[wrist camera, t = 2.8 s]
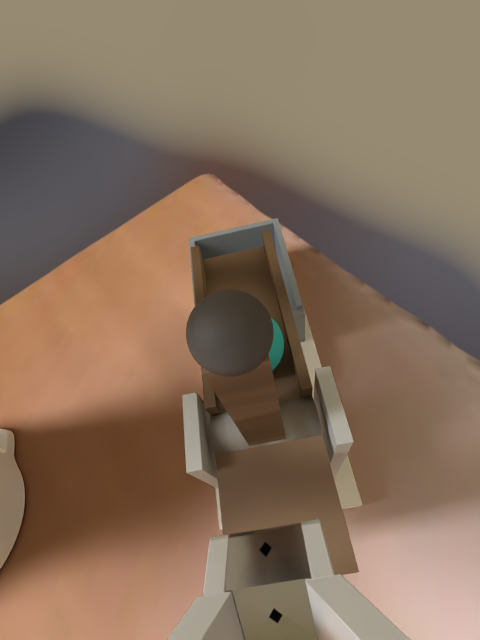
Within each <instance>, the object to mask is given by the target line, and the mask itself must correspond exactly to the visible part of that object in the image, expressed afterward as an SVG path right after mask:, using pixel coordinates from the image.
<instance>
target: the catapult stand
mask: <svg viewBox="0 0 480 640" xmlns="http://www.w3.org/2000/svg"><path fill="white" fill-rule="evenodd" d="M303 308H304V306H303ZM304 312H305V309H304ZM300 343H301V347H302V350H303V354H304V358H305V361H306V365H307V369H308V372H309V376H310V380H311V383H312V387H313V390H312V397H313V399H314V402H315V405H316V408H317V412H318V416H319V420H320V425H321V430H322V436H323V439H324V443H325V447H326V451H327V454H328V458H329V462H330V466H331V469H332V473H333V477H334V481H335V484H336V488H337V492H338V496H339V499H340V503H341V507H342V509H348V508H354V507H359V506H362V501H361V498H360V494H359V491H358V488H357V484H356V481H355V478H354V474H353V471H352V468H351V464H350V461H349V457H348V452H349V450H350V448H351V446H352V444H353V442H354V441H353V438H352V435H351V431H350V428H349V425H348V422H347V419H346V415H345V412H344V409H343V406H342V403H341V399H340V396H339V393H338V390H337V386H336V383H335V380H334V377H333V374H332V370H331V367H330V366H326V367H322V366H321V363H320V360H319V356H318V353H317V350H316V346H315V343H314V340H313V336H312V333H311V329H310V326H309V323H308V319H307V316H306V313H305V341H304V342H300ZM182 401H183V420H184V438H185V457H186V473H188V474H190V475H192V476H194V477H196V478H198V479H200V480H202V481H203V482H205V483H207V484H209V485H211V486H213V487H215V489H216V499H217V510H218V520H219V530H222V520H221V510H220V500H219V489H218V479H217V469H216V459H215V453H214V450H213V446H212V441H211V434H210V416H211V415H210V414H209V413H208V412H207V410H206V409H205V404H204V402H203V400H202V399H201V398H200V396H199V395H198V394H197V393H196V392H195V393H190V394H185V395H182Z"/></svg>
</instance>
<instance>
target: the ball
mask: <svg viewBox="0 0 480 640" xmlns="http://www.w3.org/2000/svg"><path fill="white" fill-rule="evenodd" d="M271 320H272V323H273V329H274V337H273V343H272V346H271V349H270V352H269V358H270V363H271V367H272V371H273V370H274V369H275V368H276V367H277V365H278V364H279V362H280V360H281V358H282V355H283V351H284V339H283V335H282V332H281V329H280V327H279V326H278V324H277V323H276V322H275V321H274V319H273V318H271Z"/></svg>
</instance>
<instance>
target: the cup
mask: <svg viewBox="0 0 480 640" xmlns="http://www.w3.org/2000/svg"><path fill="white" fill-rule="evenodd" d="M265 230H270V232H271V236H272V240H273V244H274V247H275V251H276V255H277V258H278V262H279V266H280V269H281V273H282V277H283V280H284V284H285V288H286V291H287V295H288V299H289V302H290V306H291V310H292V313H293V317H294V321H295V324H296V328H297V332H298V336H299V339H300V342H304V341H305V312H304V308H303V302H302V299H301V295H300V292H299V289H298V285H297V282H296V279H295V275H294V272H293V268H292V265H291V262H290V258H289V255H288V252H287V248H286V245H285V242H284V238H283V235H282V231H281V228H280V225H279V221H278V219H272V220H268V221H263V222H259V223H254V224H250V225H246V226H241V227H237V228H232V229H228V230H223V231H219V232H215V233H210V234H206V235H201V236H197V237H192V238H189V246H190V257H191V247H194V246H198V245H199V248H200V250H201V253H202V256H203V258H204V259H207V258H212V257H216V256H221V255H225V254H230V253H235V252H239V251H244V250H248V249H253V248H257V247H262V246H263V239H262V232H261V231H265ZM191 269H192V258H191ZM192 280H193V269H192ZM193 292H194V303H195V291H194V280H193ZM195 306H196V303H195Z"/></svg>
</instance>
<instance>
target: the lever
mask: <svg viewBox="0 0 480 640" xmlns="http://www.w3.org/2000/svg"><path fill="white" fill-rule="evenodd" d="M261 232H262V239H263V246H262V247H257V248H253V249H248V250H244V251H239V252H235V253H230V254H225V255H221V256H216V257H212V258H207V259H204V258H203V256H202V253H201V250H200V248H199V245H198V246H194V247H191V258H192V269H193V280H194V291H195V303H196V306H195V307H194V309H193V310H192V312H191V314H190V316H189V319H188V322H187V327H186V339H187V344H188V347H189V350H190V352H191V354H192V356H193V357H194V359H195V360H196V361H197V362H198V364H199V365H200V366H201V370H202V381H203V393H204V404H205V409H206V410H207V412H208V413H209V414H210V415H211V416H210V434H211V441H212V446H213V450H214V453H215V459H216V469H217V479H218V489H219V500H220V510H221V520H222V530H223V535H230V534H233V533H240V532H247V531H255V530H262V529H267V528H272V527H278V526H284V525H289V524H295V523H301V522H305V521H310V520H316V519H319V520H320V522H321V525H322V529H323V532H324V536H325V540H326V544H327V547H328V551H329V555H330V558H331V562H332V566H333V570H334V573H335V575H338V574H341V575H343V574H349V573H356V572H359V571H358V567H357V563H356V559H355V556H354V552H353V548H352V544H351V541H350V537H349V533H348V529H347V526H346V522H345V518H344V514H343V511H342V507H341V503H340V499H339V496H338V492H337V488H336V484H335V481H334V477H333V473H332V469H331V466H330V462H329V458H328V454H327V451H326V447H325V443H324V439H323V436H322V430H321V425H320V420H319V416H318V412H317V408H316V405H315V402H314V399H313V397H312V390H313V387H312V383H311V380H310V376H309V372H308V369H307V365H306V361H305V358H304V354H303V350H302V347H301V343H300V339H299V336H298V332H297V328H296V324H295V321H294V317H293V313H292V310H291V306H290V302H289V299H288V295H287V291H286V288H285V284H284V280H283V277H282V273H281V269H280V266H279V262H278V258H277V255H276V251H275V247H274V244H273V240H272V236H271V232H270V230H265V231H261ZM271 318H273V319H274V321H275V322H276V323H277V324H278V326H279V327H280V329H281V332H282V335H283V339H284V351H283V355H282V358H281V360H280V362H279V364H278V365H277V367H276V368H275V369H274V370H273V371H272V367H271V363H270V358H269V352H270V349H271V346H272V343H273V337H274V329H273V323H272V320H271ZM302 532H303V531H302ZM303 537H304V536H303Z"/></svg>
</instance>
